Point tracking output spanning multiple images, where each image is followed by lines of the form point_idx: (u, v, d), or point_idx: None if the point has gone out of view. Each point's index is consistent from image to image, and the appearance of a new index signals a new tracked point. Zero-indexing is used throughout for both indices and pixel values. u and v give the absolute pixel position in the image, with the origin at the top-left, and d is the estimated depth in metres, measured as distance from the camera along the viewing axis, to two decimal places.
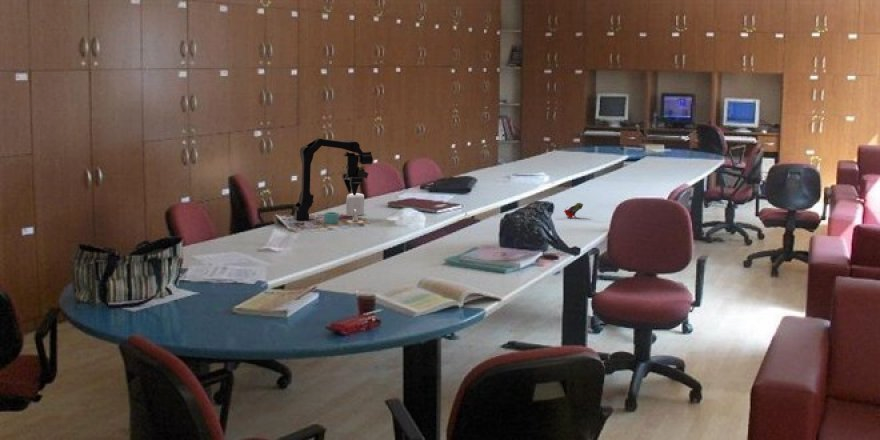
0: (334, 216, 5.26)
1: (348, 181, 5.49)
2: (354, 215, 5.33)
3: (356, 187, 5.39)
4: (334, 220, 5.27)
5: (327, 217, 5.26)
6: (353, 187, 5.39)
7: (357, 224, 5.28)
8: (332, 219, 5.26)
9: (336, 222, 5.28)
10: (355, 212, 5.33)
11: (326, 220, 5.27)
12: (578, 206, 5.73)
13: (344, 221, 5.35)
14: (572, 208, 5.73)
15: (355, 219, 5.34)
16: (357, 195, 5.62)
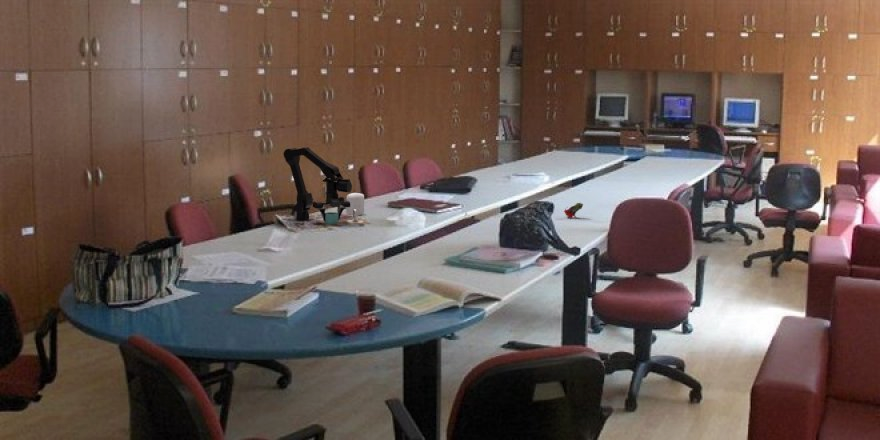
0: (334, 216, 5.26)
1: (338, 208, 5.31)
2: (354, 215, 5.33)
3: (322, 213, 5.26)
4: (334, 220, 5.27)
5: (327, 217, 5.26)
6: (321, 212, 5.28)
7: (357, 224, 5.28)
8: (332, 219, 5.26)
9: (336, 222, 5.28)
10: (355, 212, 5.33)
11: (326, 220, 5.27)
12: (578, 206, 5.73)
13: (344, 221, 5.35)
14: (572, 208, 5.73)
15: (355, 219, 5.34)
16: (357, 195, 5.62)
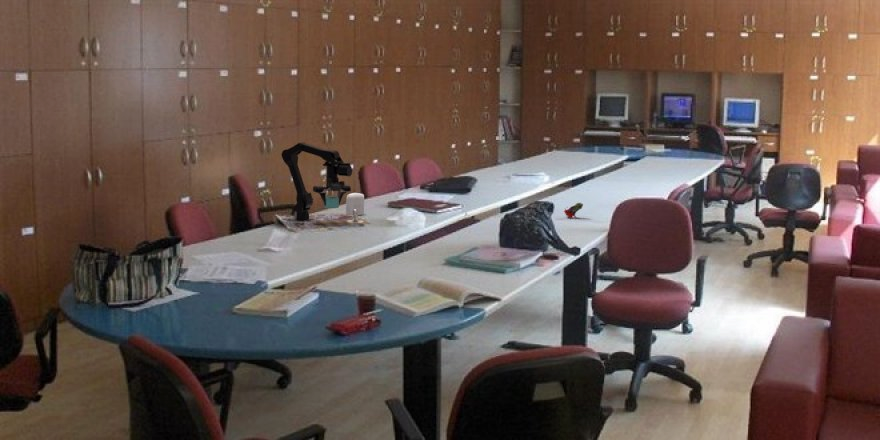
0: (334, 200, 5.25)
1: (339, 193, 5.30)
2: (354, 215, 5.33)
3: (323, 197, 5.25)
4: (334, 204, 5.25)
5: (327, 201, 5.25)
6: (321, 197, 5.27)
7: (357, 224, 5.28)
8: (332, 203, 5.25)
9: (336, 206, 5.26)
10: (355, 212, 5.33)
11: (326, 204, 5.26)
12: (578, 206, 5.73)
13: (344, 221, 5.35)
14: (572, 208, 5.73)
15: (355, 219, 5.34)
16: (357, 195, 5.62)
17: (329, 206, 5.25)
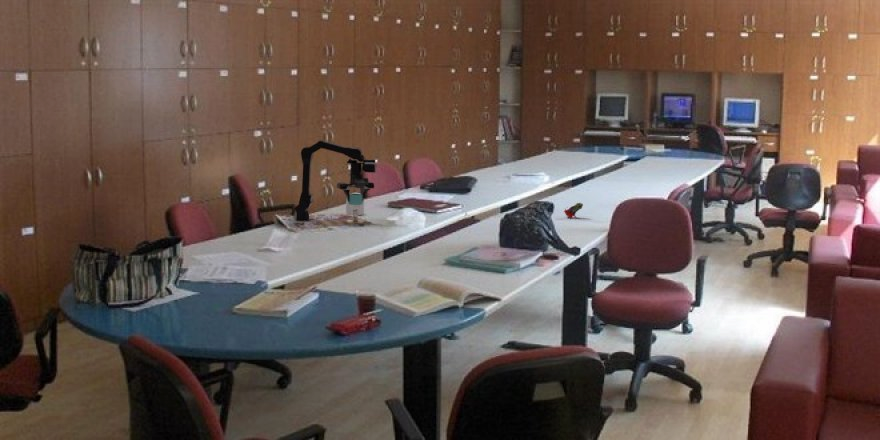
0: (358, 197, 5.30)
1: (362, 190, 5.35)
2: (354, 215, 5.33)
3: (346, 194, 5.30)
4: (358, 201, 5.30)
5: (351, 198, 5.30)
6: (345, 193, 5.32)
7: (357, 224, 5.28)
8: (356, 200, 5.30)
9: (360, 203, 5.32)
10: (355, 212, 5.33)
11: (350, 201, 5.31)
12: (578, 206, 5.73)
13: (344, 221, 5.35)
14: (572, 208, 5.73)
15: (355, 219, 5.34)
16: None
17: (353, 203, 5.30)
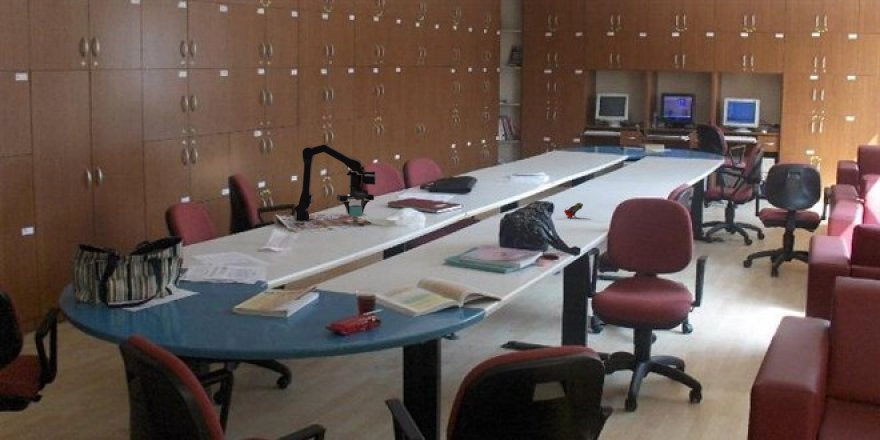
0: (358, 209, 5.31)
1: (362, 201, 5.36)
2: None
3: (346, 206, 5.31)
4: (358, 213, 5.31)
5: (351, 210, 5.31)
6: (345, 205, 5.33)
7: (357, 224, 5.28)
8: (356, 212, 5.31)
9: (360, 215, 5.33)
10: None
11: (350, 213, 5.32)
12: (578, 206, 5.73)
13: (344, 221, 5.35)
14: (572, 208, 5.73)
15: (355, 219, 5.34)
16: None
17: (353, 214, 5.31)
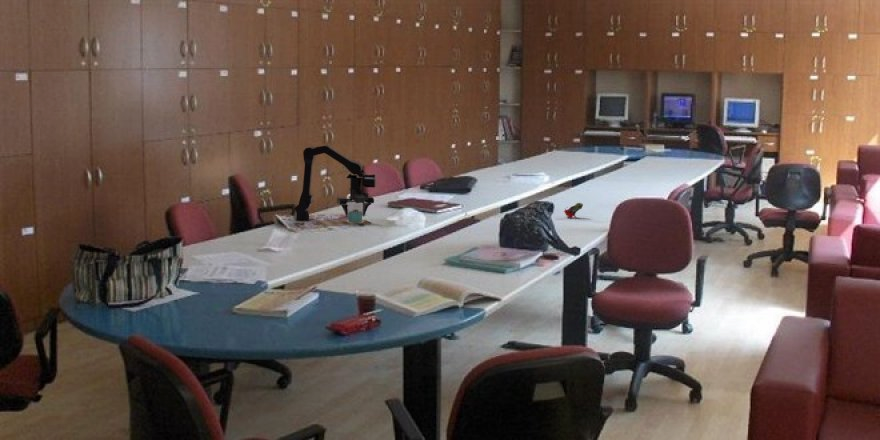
0: (358, 215, 5.32)
1: (364, 204, 5.36)
2: None
3: (345, 209, 5.31)
4: (358, 219, 5.32)
5: (351, 216, 5.32)
6: (343, 208, 5.33)
7: (357, 224, 5.28)
8: (356, 218, 5.31)
9: (360, 221, 5.33)
10: (355, 212, 5.33)
11: (350, 219, 5.32)
12: (578, 206, 5.73)
13: (344, 221, 5.35)
14: (572, 208, 5.73)
15: None
16: None
17: (352, 220, 5.32)
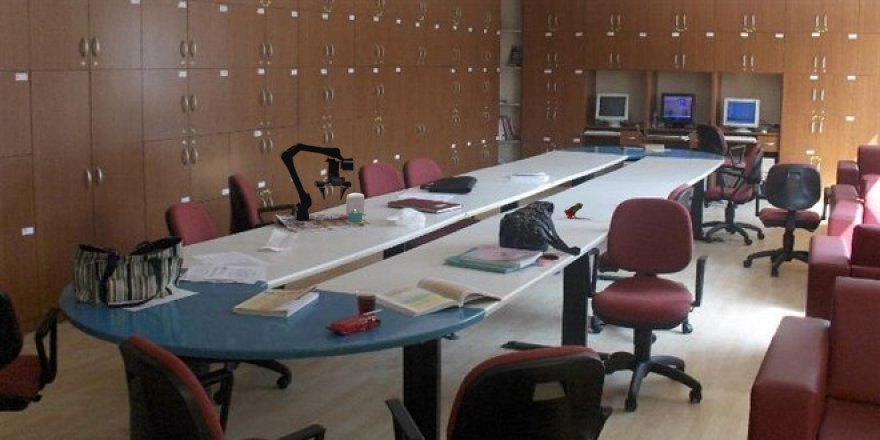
0: (358, 215, 5.32)
1: (341, 188, 5.41)
2: None
3: (322, 192, 5.36)
4: (358, 219, 5.32)
5: (351, 216, 5.32)
6: (321, 191, 5.37)
7: (357, 224, 5.28)
8: (356, 218, 5.31)
9: (360, 221, 5.33)
10: (355, 212, 5.33)
11: (350, 219, 5.32)
12: (578, 206, 5.73)
13: (344, 221, 5.35)
14: (572, 208, 5.73)
15: None
16: (357, 195, 5.62)
17: (352, 220, 5.32)
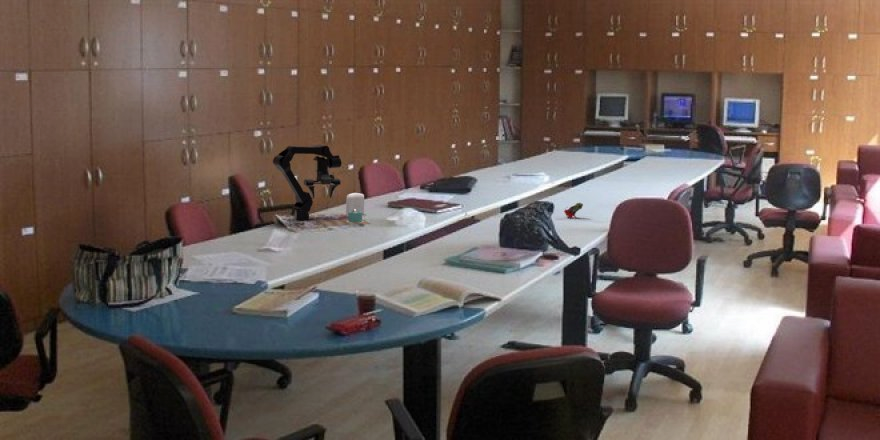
0: (358, 215, 5.32)
1: (330, 186, 5.44)
2: None
3: (311, 190, 5.39)
4: (358, 219, 5.32)
5: (351, 216, 5.32)
6: (310, 190, 5.40)
7: (357, 224, 5.28)
8: (356, 218, 5.31)
9: (360, 221, 5.33)
10: (355, 212, 5.33)
11: (350, 219, 5.32)
12: (578, 206, 5.73)
13: (344, 221, 5.35)
14: (572, 208, 5.73)
15: None
16: (357, 195, 5.62)
17: (352, 220, 5.32)
